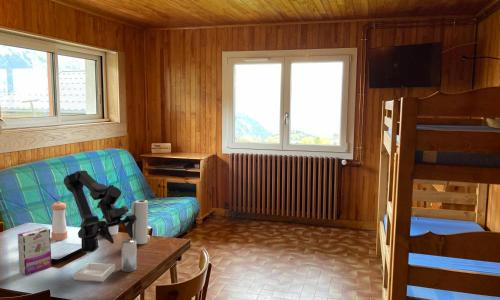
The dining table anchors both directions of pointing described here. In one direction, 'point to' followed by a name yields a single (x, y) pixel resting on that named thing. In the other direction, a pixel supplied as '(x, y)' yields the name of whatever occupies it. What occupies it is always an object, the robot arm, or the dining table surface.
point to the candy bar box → (34, 250)
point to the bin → (94, 272)
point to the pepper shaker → (58, 221)
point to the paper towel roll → (140, 221)
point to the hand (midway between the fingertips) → (122, 240)
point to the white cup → (113, 229)
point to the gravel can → (129, 255)
